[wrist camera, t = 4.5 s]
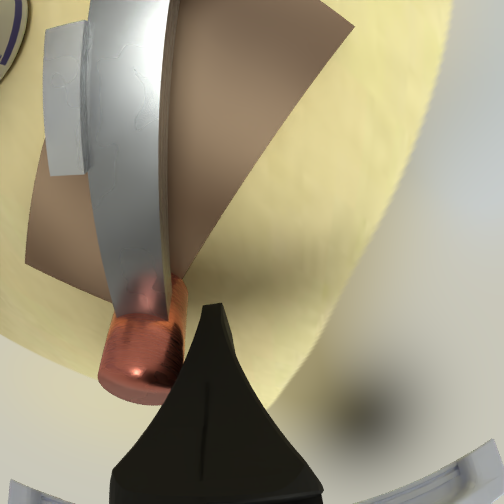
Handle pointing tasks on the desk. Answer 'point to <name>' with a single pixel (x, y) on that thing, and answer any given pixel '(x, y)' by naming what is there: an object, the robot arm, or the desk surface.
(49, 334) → the desk surface
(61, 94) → the lever
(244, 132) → the press base
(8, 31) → the energy drink
